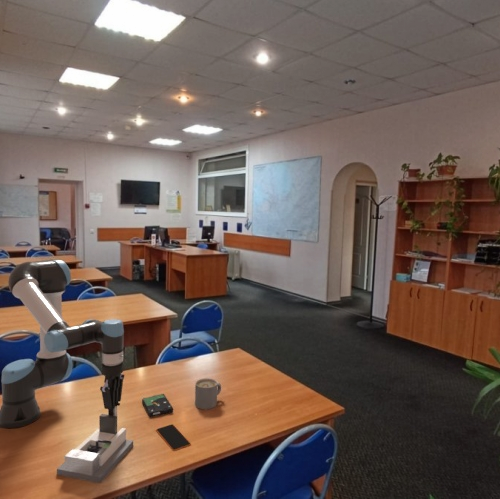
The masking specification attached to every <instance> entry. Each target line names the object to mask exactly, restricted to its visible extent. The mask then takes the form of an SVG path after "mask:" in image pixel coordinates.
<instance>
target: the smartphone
mask: <svg viewBox="0 0 500 499" xmlns="http://www.w3.org/2000/svg"><path fill="white" fill-rule="evenodd" d="M155 432H157V434H158V435H159V436H160V437H161V438H162V440H163V441H164V442H165V443H166V444H167V446H168V447H169V448H170V450H171V451H173V452H175V451H179V450H181V449H184V448H187V447H190V446H191V445H192V443H191V442H190V441H189V440H188V439H187V438H186V437H185V436H184V434H182V433H181V431H180V430H179V429H178V428H177V427H176V425H174V424H172V423H171V424H168V425H165V426H162V427H159V428H156V429H155Z"/></svg>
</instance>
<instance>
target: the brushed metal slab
mask: <svg viewBox="0 0 500 499" xmlns="http://www.w3.org/2000/svg"><path fill="white" fill-rule="evenodd" d="M64 462H65V471H70V472H75V473H81V474H86V475H91V476H92V475H93V474H94V473H95V472H96V471H97V470H98V469H99V453H93V452H87V451H82V450H76V448H75V449H74V448H72V449H71V450H70V451H69V452H67V453H66V454H65V455H64Z"/></svg>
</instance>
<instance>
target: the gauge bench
mask: <svg viewBox="0 0 500 499" xmlns="http://www.w3.org/2000/svg"><path fill="white" fill-rule="evenodd" d="M97 433H99V427H98V428H97V429H96V430H95V431H94V432H93V433H91V434H90V435H89V436H87V438H86V439H84V441H82V442H81V443H80V444H79V445H78V446H77V447H75V449H76V450H82V451H87V452H88V447H89V446H90V445H91V439H92V438H93V437H94V436H95V435H96V434H97ZM110 441H111V444H108V443H107V444H105V445H104V446H103V447H102V449H101V450H100V451H99V452H98V453H99V469H98V470H97V471H96V472H95V473H94V474H93V475H92V476H91V475H86V474H81V473H75V472H70V471H65V461H64V462H63V463H62V464H61V465H60V466H58V467H57V468H56V475H58V476H62V477H67V478H73V479H78V480H83V481H86V482H87V481H88V482H94V483H98V484H101V483H102V482H103V481H104V480H105V479H106V478H107V477H108V476H109V474H110V473H111V472H112V471H113V470H114V469H115V467H116V466H117V465H118V464H119V463H120V462H121V460H122V459H123V458H124V457H125V456H126V455H127V453H128V452H130V450H131V449H132V448H133V446H134V440H131V439H127V428H125V427H122V428H120V429H119V431H117V434H116V435H115V436H114V437H113V438H112V439H111V440H110Z"/></svg>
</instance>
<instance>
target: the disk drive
mask: <svg viewBox="0 0 500 499" xmlns="http://www.w3.org/2000/svg"><path fill="white" fill-rule="evenodd" d="M141 403H142V405H143V407H144V409H145V411H146V413H147V415H148V418H155V417H159V416H163V415H168V414H172V413H173V412H174V407H173V406H172V404H171V403H170V401H169V399H168V398H167V397H166V395H165V394H164V393H162V394H156V395H155V394H154V395H152V396H148V397H142V399H141Z"/></svg>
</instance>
